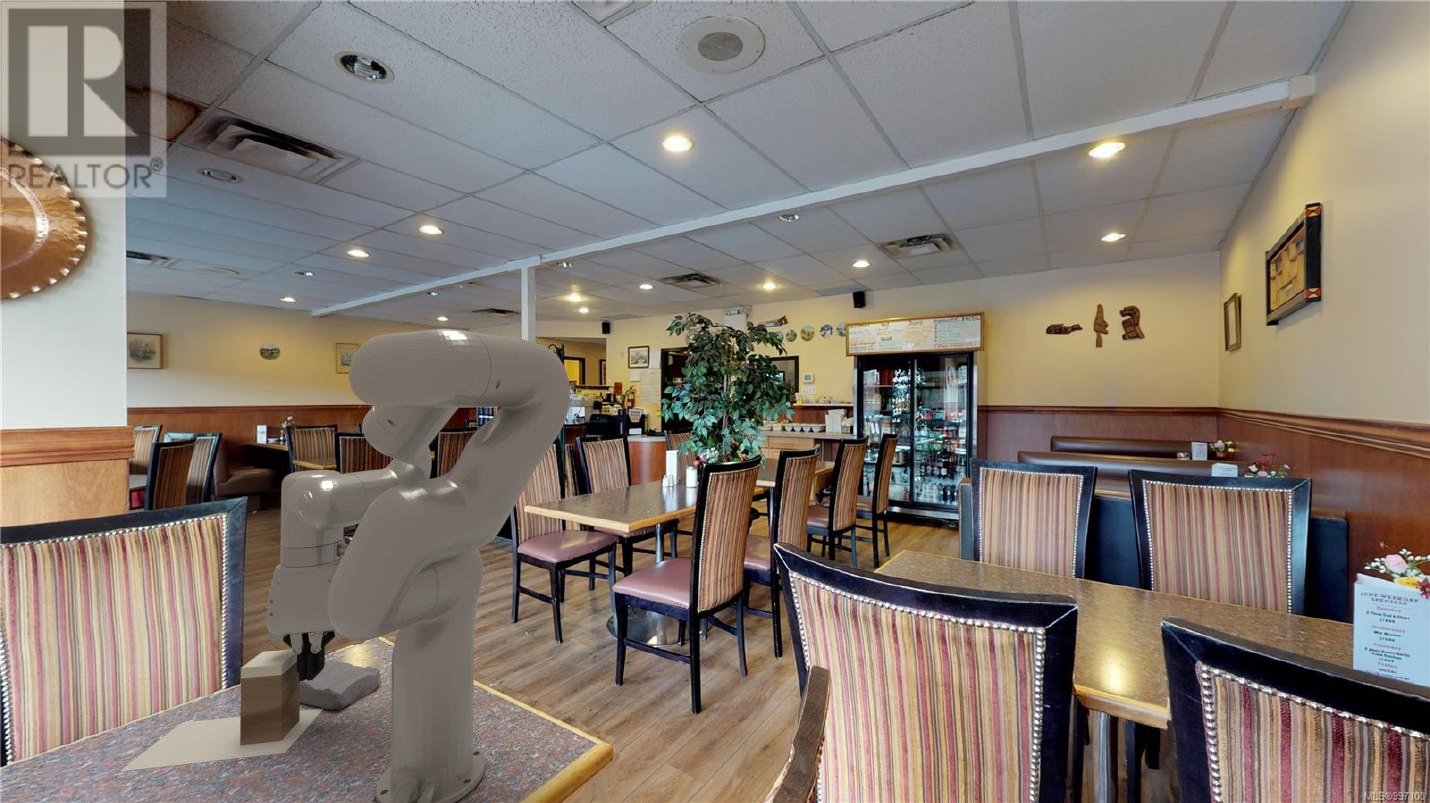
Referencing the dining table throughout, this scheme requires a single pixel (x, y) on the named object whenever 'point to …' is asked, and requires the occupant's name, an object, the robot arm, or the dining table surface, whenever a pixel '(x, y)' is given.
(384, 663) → the dining table surface
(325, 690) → the stone block
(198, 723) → the beige mat
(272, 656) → the walnut block
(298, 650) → the robot arm
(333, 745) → the dining table surface
